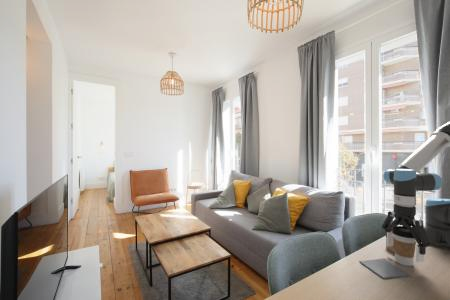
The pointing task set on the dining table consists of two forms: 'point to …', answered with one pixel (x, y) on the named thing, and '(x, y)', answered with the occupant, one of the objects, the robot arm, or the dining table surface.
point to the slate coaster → (384, 268)
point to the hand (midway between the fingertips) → (403, 253)
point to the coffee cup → (403, 245)
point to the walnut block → (390, 247)
